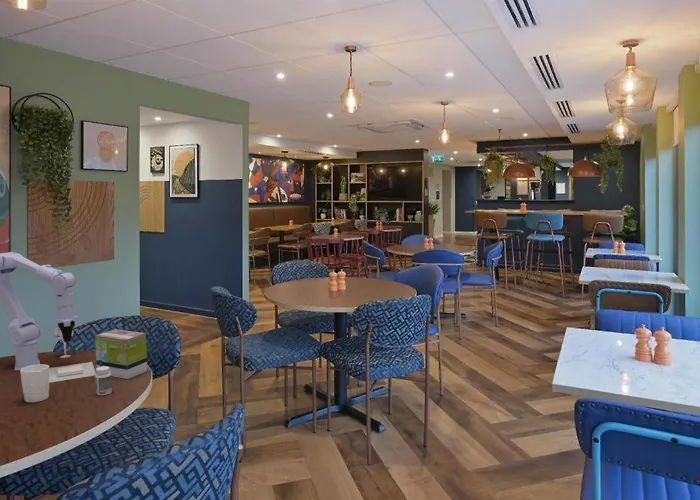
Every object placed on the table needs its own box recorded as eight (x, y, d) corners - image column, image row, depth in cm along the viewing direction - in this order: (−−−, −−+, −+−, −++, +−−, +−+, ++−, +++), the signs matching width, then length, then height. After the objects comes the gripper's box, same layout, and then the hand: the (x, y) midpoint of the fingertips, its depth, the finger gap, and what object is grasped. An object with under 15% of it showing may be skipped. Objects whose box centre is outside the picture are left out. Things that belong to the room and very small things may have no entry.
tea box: (95, 374, 192) (93, 334, 190) (117, 366, 201) (115, 328, 200) (127, 380, 186) (125, 338, 185) (148, 371, 195) (146, 331, 194)
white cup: (56, 396, 171) (54, 366, 170) (33, 405, 164) (30, 373, 163) (40, 392, 174) (38, 363, 173) (16, 401, 167) (14, 370, 166)
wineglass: (69, 359, 210) (67, 329, 209) (52, 359, 210) (50, 329, 209) (78, 354, 217) (76, 325, 216) (61, 354, 217) (59, 325, 216)
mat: (44, 369, 198) (44, 368, 198) (92, 362, 206) (91, 361, 206) (45, 384, 182) (45, 383, 182) (96, 375, 191) (96, 375, 191)
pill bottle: (115, 391, 175) (114, 366, 174) (104, 396, 171) (103, 371, 170) (104, 389, 177) (102, 365, 176) (92, 394, 172) (91, 369, 171)
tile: (57, 368, 194) (57, 373, 188) (81, 364, 198) (82, 369, 192) (57, 372, 194) (57, 377, 188) (81, 368, 198) (83, 373, 192)
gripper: (78, 307, 193) (80, 344, 194) (76, 301, 205) (78, 335, 207) (56, 310, 189) (58, 347, 191) (55, 303, 202) (57, 338, 203)
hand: (67, 341), depth 198 cm, fingers closed
